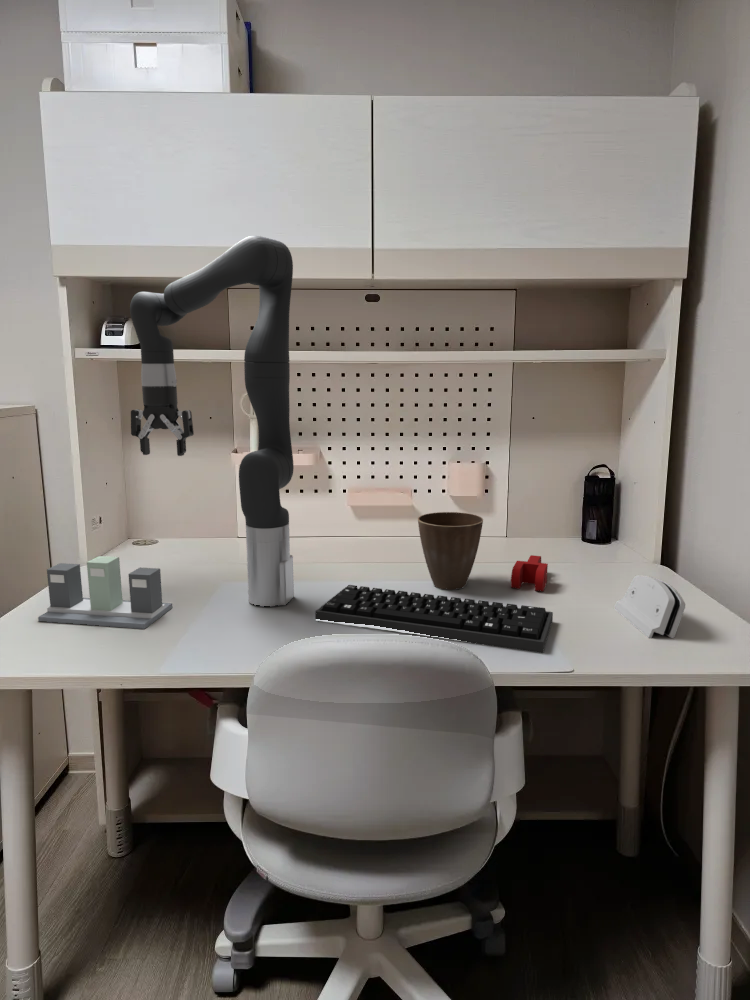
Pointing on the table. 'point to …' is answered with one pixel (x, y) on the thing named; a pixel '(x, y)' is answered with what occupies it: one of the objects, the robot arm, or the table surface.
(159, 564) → the table surface
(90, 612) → the rail board
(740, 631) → the table surface
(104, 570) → the block
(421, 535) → the plant pot
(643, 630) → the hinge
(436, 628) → the computer keyboard
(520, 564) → the mechanical linkage
